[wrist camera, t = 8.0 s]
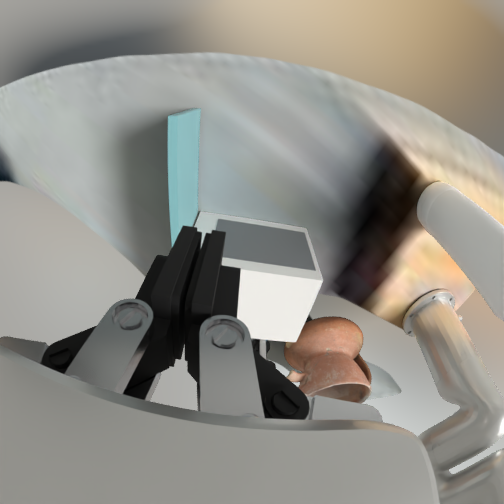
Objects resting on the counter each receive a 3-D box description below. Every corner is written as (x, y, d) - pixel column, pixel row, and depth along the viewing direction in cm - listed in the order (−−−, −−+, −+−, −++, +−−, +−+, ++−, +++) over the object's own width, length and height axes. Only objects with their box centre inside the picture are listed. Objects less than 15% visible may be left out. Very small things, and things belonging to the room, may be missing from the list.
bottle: (428, 172, 31) (588, 328, 5) (461, 190, 31) (593, 327, 6) (407, 220, 35) (526, 399, 10) (440, 233, 36) (547, 385, 11)
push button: (250, 315, 45) (249, 365, 37) (281, 319, 46) (285, 368, 37) (242, 339, 49) (241, 385, 40) (271, 343, 49) (273, 389, 41)
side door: (189, 108, 27) (162, 116, 19) (200, 108, 27) (177, 115, 19) (188, 215, 34) (168, 258, 26) (198, 216, 34) (180, 259, 26)
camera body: (306, 227, 36) (324, 285, 26) (288, 285, 41) (296, 347, 31) (188, 209, 34) (162, 262, 25) (185, 270, 40) (166, 330, 30)
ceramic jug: (262, 345, 50) (264, 413, 38) (306, 295, 42) (321, 372, 30) (335, 362, 54) (347, 420, 42) (381, 322, 47) (404, 384, 35)
